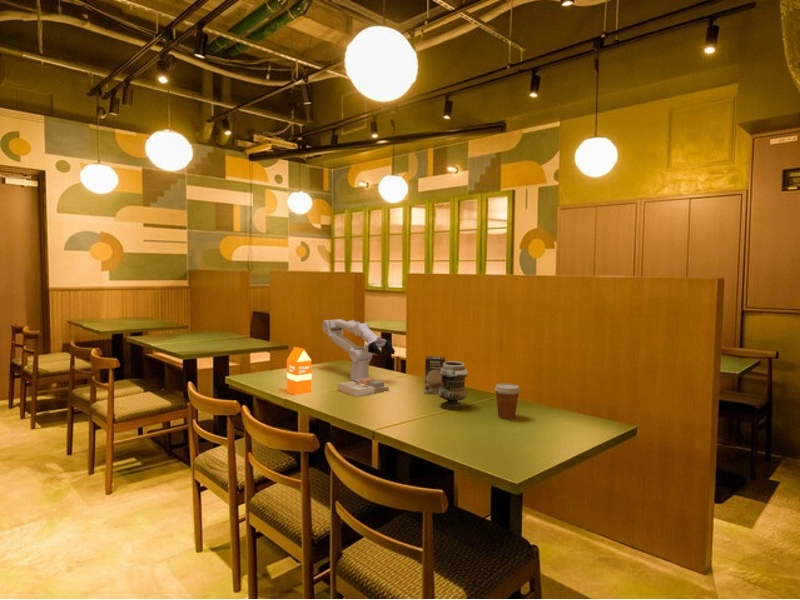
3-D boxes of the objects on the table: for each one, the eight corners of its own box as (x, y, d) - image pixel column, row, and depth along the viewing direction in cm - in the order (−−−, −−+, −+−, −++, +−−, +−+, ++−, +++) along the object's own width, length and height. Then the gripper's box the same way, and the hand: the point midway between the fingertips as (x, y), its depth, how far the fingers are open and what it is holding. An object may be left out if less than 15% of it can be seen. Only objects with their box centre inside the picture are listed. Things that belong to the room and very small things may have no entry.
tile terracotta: (359, 383, 241) (360, 378, 241) (368, 381, 245) (368, 377, 244) (366, 385, 238) (366, 380, 237) (374, 383, 241) (374, 379, 241)
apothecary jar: (455, 412, 203) (456, 367, 202) (431, 406, 211) (432, 362, 210) (473, 406, 212) (474, 363, 211) (449, 400, 220) (450, 359, 219)
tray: (337, 390, 235) (337, 382, 235) (354, 387, 241) (355, 379, 241) (356, 397, 224) (356, 389, 224) (374, 393, 230) (374, 386, 230)
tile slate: (368, 385, 236) (368, 381, 236) (377, 384, 239) (377, 380, 239) (375, 388, 232) (375, 383, 232) (384, 386, 235) (384, 382, 235)
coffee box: (423, 393, 231) (424, 358, 230) (424, 390, 238) (425, 355, 237) (444, 394, 230) (445, 359, 229) (444, 391, 237) (445, 356, 236)
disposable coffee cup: (489, 414, 200) (490, 384, 200) (509, 412, 204) (510, 382, 203) (503, 421, 192) (504, 389, 191) (524, 418, 196) (525, 387, 195)
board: (355, 387, 242) (355, 382, 242) (369, 384, 247) (369, 380, 247) (374, 393, 230) (374, 389, 230) (388, 390, 235) (388, 386, 235)
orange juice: (296, 394, 226) (296, 349, 225) (286, 391, 233) (286, 347, 231) (311, 392, 231) (311, 348, 230) (301, 388, 238) (301, 345, 236)
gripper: (361, 333, 243) (377, 348, 234) (385, 330, 253) (401, 344, 244) (357, 345, 246) (373, 361, 237) (381, 342, 255) (397, 357, 247)
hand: (387, 353), depth 241 cm, fingers open, 7 cm apart
